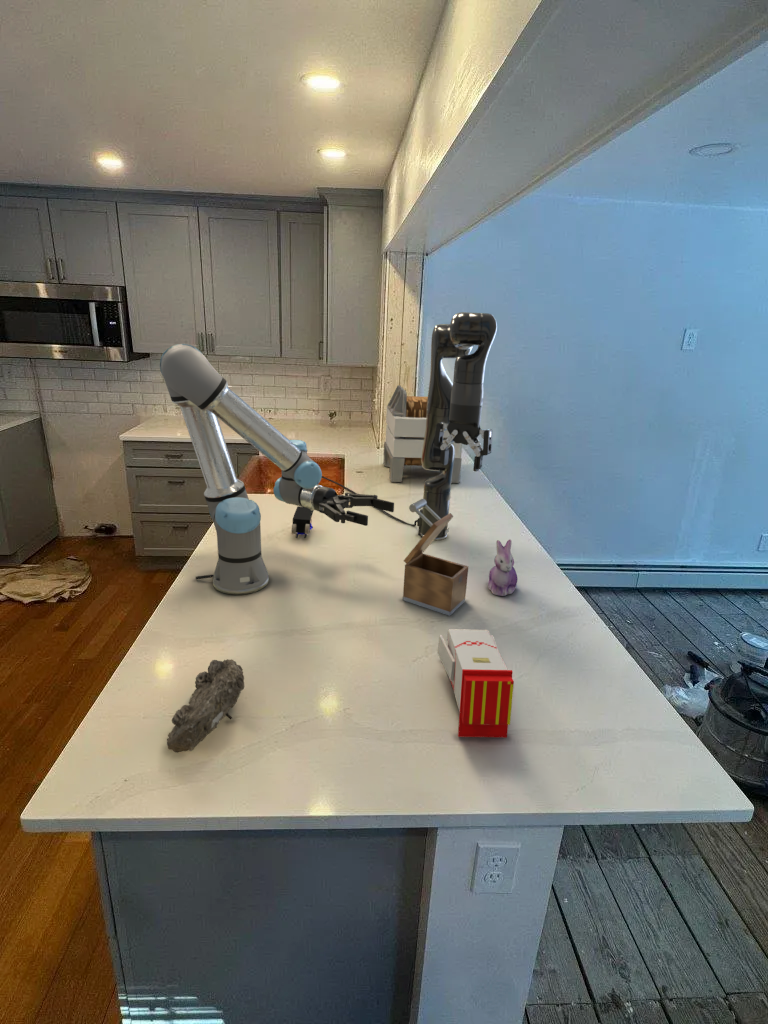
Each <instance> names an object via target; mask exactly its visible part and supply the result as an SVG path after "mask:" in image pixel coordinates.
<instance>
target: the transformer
mask: <svg viewBox="0 0 768 1024" xmlns="http://www.w3.org/2000/svg"><path fill="white" fill-rule="evenodd" d="M407 394H408V393H407V390H406V389H404V388H403V387H402V385H399V384H398V385H397V386H396V388H395V390H394V392H393V394H392V395H391V398H390V400H389V402H388V404H387V405H386V413H385V414H386V415H385V423H386V428H385V438H384V442H383V466H384V467H388V468H389V475H388V476H389V477H388V478H389V480H390V482H391V483H402V482H403V475H404V469H405V466H406V467H407V466H411V467H412V466H413V467H415V466H416V467H417V466H418V467H422V462H421V457H422V449H423V443H424V436H425V429H426V413H427V399H428V396H415V395H414V396H413V395H412V396H411V395H407ZM449 436H450V434H449V432H448V430H447V429H446V431H444V436H443V443H444V442H445V440H446V439H447V438H448V437H449ZM452 445H453V446H454V449H455V457H454V464H453V471H452V480H451V484H455V483H456V484H459V483H461V472H462V461H463V460H462V453H463V444H462V443H455V442H454V443H452ZM442 472H443V471H439V473H440V474H441V473H442Z"/></svg>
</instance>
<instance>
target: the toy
mask: <svg viewBox="0 0 768 1024" xmlns="http://www.w3.org/2000/svg"><path fill="white" fill-rule="evenodd" d="M446 640H447V643H446V641H445V639H444V636H443V635H442V634H439V637H438V646H437V656H438V657H439V659H440V661H441V663H442V666H443V668H444V670H445V672H446V674H447V677H448V679H449V681H450V684H451V687H452V690H453V693H454V697H455V701H456V705H457V708H458V711H459V714H458V715H459V716H458V730H457V731H458V732H457V737H458V738H508V731H509V726H510V725H511V717H512V707H513V697H514V696H513V695H514V684H515V680H514V679H513V673H514V671H513V670H512V669H508V667H507V665H506V662H505V661H504V659H503V658H502V655H501V653H500V651H499V649H498V647H497V643H496V639H495V637H494V635H493V634H491V632H490V631H489V629H467V628H466V629H465V628H463V629H461V628H460V629H459V628H448V630H447V639H446Z"/></svg>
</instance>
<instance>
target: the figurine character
mask: <svg viewBox="0 0 768 1024" xmlns="http://www.w3.org/2000/svg"><path fill="white" fill-rule="evenodd" d="M314 511H315V510H310V509H309V508H305V507H301V506H297V505H296V509H295V512H294V514H293V516H292V524H291V535H295V538H296V539H299V535H300V536H303V538H304V539H307V536H308V535H310V534H311V530H312V529H313V524H312V522H313V519H312V517H313V514H314Z"/></svg>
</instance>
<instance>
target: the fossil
mask: <svg viewBox="0 0 768 1024" xmlns="http://www.w3.org/2000/svg"><path fill="white" fill-rule="evenodd" d="M243 670H244V669H243V667H242V665H240V664H237V662H236V661H235V660H234V659H232V658H231V659H227V658H226V659H224V660H223V661H222V660H217V659H212V660H211V661H210V663H209V665H208V666H207V671H201V672H199V673H198V674H197V675H196V676H195V680H194V684H195V685H194V687H195V689H194V690H193V693H192V694H191V697H190V698H189V700H188V704H184V705H182V706H181V707H180V709H177V710H176V711H175V713H174V715H173V716H172V718H171V723H172V724H173V727H172V730H171V731H170V732H168V734H167V738H166V741H167V742H166V745H167V749H168V750H169V751H173V752H174V753H176V754H178V753H182V752H188V751H189V752H192V751H193V750H195V748H196V747H197V746H199V744H200V743H201V742H203V741H204V740H205V739H206V738H207V737H208V736H209V735H210V734H211V733H212V732H214V730H215V729H217V727H218V726H219V724H220V722H221V721H222V720H223V719H224V718H225V716H226V717H227V719H229V720H233V717H232V715H230V714H229V710H230V709H231V708H234V706H235V704H236V703H237V702H238V699H239V697H240V695H241V693H242V691H243V690H245V689H244V688H245V675H244V671H243Z"/></svg>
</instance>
